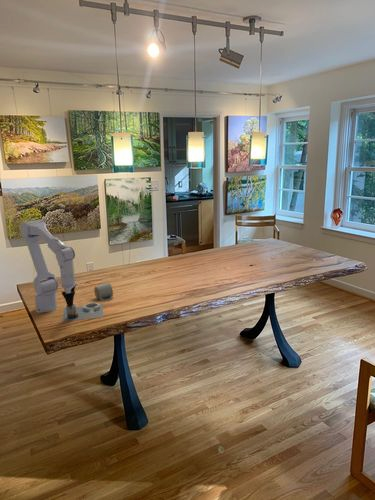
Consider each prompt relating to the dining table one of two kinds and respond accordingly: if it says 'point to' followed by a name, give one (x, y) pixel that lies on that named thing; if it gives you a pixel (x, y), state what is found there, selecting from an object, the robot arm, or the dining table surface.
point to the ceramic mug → (103, 291)
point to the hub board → (86, 312)
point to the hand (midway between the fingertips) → (70, 303)
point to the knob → (71, 312)
